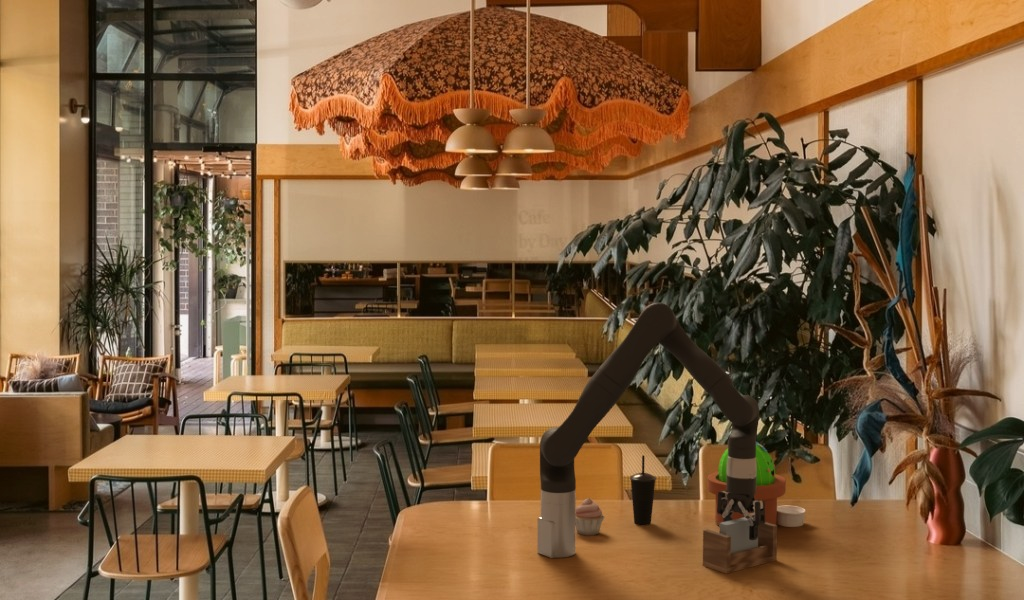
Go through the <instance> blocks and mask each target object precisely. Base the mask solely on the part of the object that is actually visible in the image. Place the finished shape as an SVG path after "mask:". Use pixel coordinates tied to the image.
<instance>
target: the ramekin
mask: <svg viewBox="0 0 1024 600" xmlns="http://www.w3.org/2000/svg"><path fill="white" fill-rule="evenodd" d="M805 514H806V509H805V508H803V507H801V506H797V505H788V504H787V505H777V522H776V525H779V526H782V527H786V528H787V527H788V528H795V527H796V528H797V527H801V526H803V525H804V523H805Z"/></svg>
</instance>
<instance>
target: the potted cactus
mask: <svg viewBox="0 0 1024 600" xmlns="http://www.w3.org/2000/svg"><path fill="white" fill-rule="evenodd" d="M720 455H721V457H720V459H718V460H719V463H718V471H714V472H712V473H710V474H709V475H708V476H707V491H708V492H710V493H711V494H713V495H715V505H714V507H715V512H714V513H715V514H714V519H715V520H714V521H715V524H716V525H718V526H719V524H720V523H722V522H723V517H722V515H721V514H718V513H717V504H718V492H721V491H727V489H726V483H727V460H728V447H727V448H726V449H724V451H723V453H721V454H720ZM756 465H757V475H756V492H755V494H754V498H755V500H757V501H762V500H763V501H764V502H765V522H768V523H771V524H774V525H777V523H776V522H777V506H778V498H781V497H783V496H784V495H785V494H786V483H787V482H786V479H785V477H784V476H782V475H780V474H777V473H776V464H774V461H773V459H772V456H771V455H770V453H768V449H766V448H765V447H764V445H762V444H760V443H759V442H758V441H756ZM727 492H728V491H727ZM728 504H729V501H728V500H727V505H728ZM722 506H723V505H722ZM749 513H751V511H750V512H749ZM731 517H732V520H735V519H739V518H744V517H745V516H744V514H740V513H739V512H734V513H733V515H732V516H731Z"/></svg>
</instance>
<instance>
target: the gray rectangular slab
mask: <svg viewBox="0 0 1024 600" xmlns="http://www.w3.org/2000/svg"><path fill="white" fill-rule="evenodd" d="M752 519H753V518H752ZM753 521H754V520H753ZM718 526H719V527H718V528H719V529H718V533H721V534H724V535H727V536H731V554H733V553H737V552H740V551H744V550H748V549H752V548H756V547H758V538H757V539H756V540H750V539H749V526H751V525H750V523H749V521H748V519H747V518H745V517H744V518H739V519H735V520H730V521H726V522H722V523H720V524H719V525H718Z"/></svg>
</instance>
